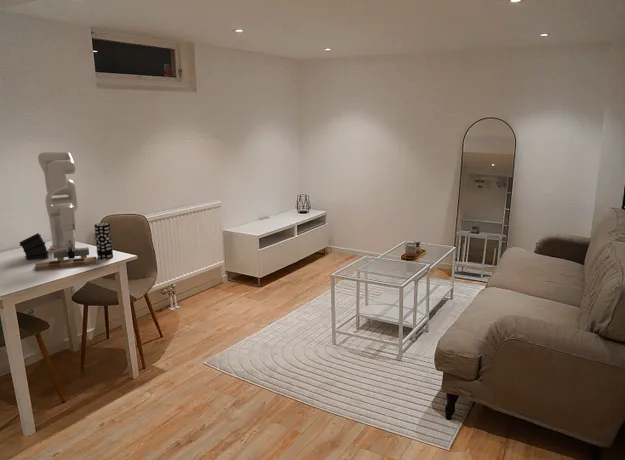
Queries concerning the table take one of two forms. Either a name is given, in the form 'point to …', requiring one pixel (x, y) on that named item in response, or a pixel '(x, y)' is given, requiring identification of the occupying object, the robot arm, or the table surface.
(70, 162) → the robot arm
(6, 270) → the table surface
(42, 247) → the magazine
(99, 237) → the spotted tube
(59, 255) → the grey control box
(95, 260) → the rail
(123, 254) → the table surface
